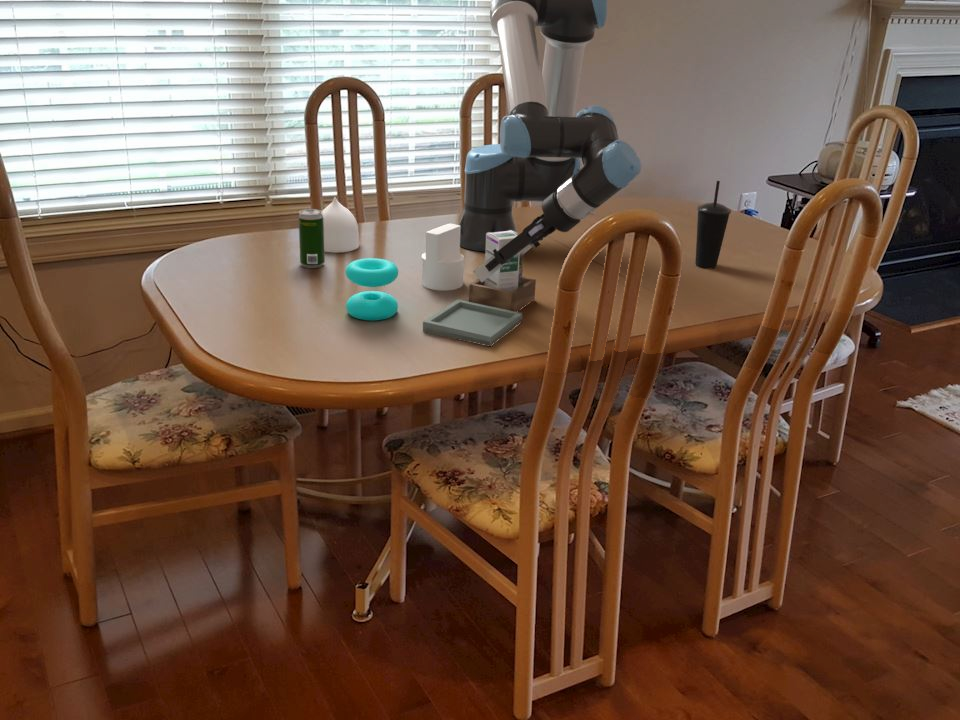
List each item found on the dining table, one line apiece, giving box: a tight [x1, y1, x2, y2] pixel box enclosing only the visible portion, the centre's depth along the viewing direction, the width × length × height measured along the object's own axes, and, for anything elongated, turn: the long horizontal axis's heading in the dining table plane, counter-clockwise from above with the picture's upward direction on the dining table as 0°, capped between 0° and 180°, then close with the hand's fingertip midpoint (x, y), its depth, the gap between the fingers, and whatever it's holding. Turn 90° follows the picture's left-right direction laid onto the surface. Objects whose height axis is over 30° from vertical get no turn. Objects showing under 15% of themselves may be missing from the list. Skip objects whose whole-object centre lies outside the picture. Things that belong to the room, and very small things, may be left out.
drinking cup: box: [694, 180, 732, 269], centre depth 214 cm, size 8×8×20 cm
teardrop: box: [321, 196, 360, 254], centre depth 218 cm, size 11×11×12 cm
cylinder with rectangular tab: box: [420, 222, 465, 291], centre depth 196 cm, size 9×9×12 cm
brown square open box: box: [468, 276, 537, 312], centre depth 188 cm, size 10×10×4 cm
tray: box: [422, 299, 523, 347], centre depth 176 cm, size 14×14×2 cm
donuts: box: [345, 257, 399, 322], centre depth 179 cm, size 10×10×10 cm
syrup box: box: [484, 230, 525, 292], centre depth 186 cm, size 6×6×14 cm
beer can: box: [298, 208, 326, 269], centre depth 204 cm, size 5×5×12 cm
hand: (492, 267), depth 187 cm, fingers open, 12 cm apart
